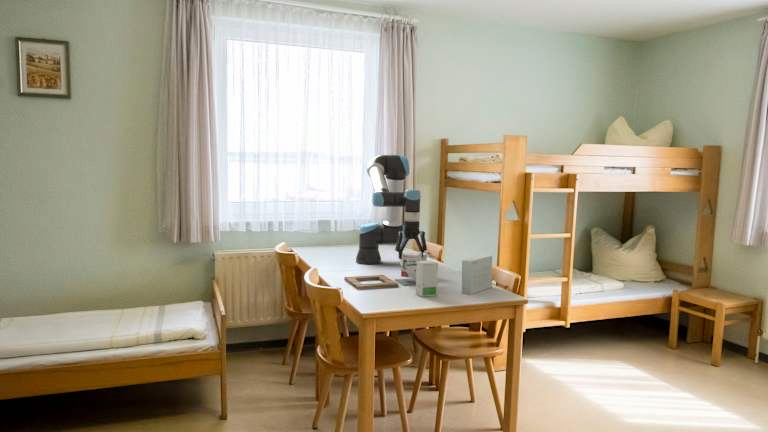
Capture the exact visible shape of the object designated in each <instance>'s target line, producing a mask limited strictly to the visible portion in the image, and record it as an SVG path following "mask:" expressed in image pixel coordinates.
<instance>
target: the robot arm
mask: <svg viewBox="0 0 768 432" xmlns="http://www.w3.org/2000/svg"><path fill="white" fill-rule="evenodd" d="M409 164H410V163H409V158H408V157H407V156H406V155H401V154H378V155H376V156H374V157H372V158H371V159H370V160H369V162H368V163H367V167H366V173H367V175H368V176H369V178H370V180H371V183H372V187H373V191H374V192H372V200H371V201H372V206H373V207H377V208H378V207H380V208H382V207H383V208H386V210H385V220H383V221H382V224H380V223H379V222H367V223H363V224H361V225H360V226H359V232H358V234H359V236H358V237H359V238H358V239H359V241H358V242H359V243H358V251H357V254H356V257H355V263H356V264H361V265H378V264H381V263H382V257H381V254H380V251H379V249H380V248H379V247H380V246H379V245H382V246H385V245H386V246H387V245H388V246H395V248H394V251H396V252H398V260H399V265H400V266H403V262H404V253H405V252H404V250H405V248H406V246H407V243H408V242H409V241H410V240H414V241H415V243H416V245H417V248H418V251H417V252H418V254H420V261H422V258H423V253H425V252H426V251H427V250H428V247H427V242H426V238H425V235H426V231H424V230H420V219H421V218H420V215H421V198H422V197H421V190H419V189H406V190H405V191H404V192H403V185H404V184H403V182H404V181H406V177H408V176H409V175H410V165H409ZM402 208H404V223H403V222H402V221H401V213H402V212H401V211H402ZM419 236H420V238H419ZM420 241H421V242H420Z"/></svg>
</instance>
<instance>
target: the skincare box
mask: <svg viewBox="0 0 768 432" xmlns="http://www.w3.org/2000/svg"><path fill="white" fill-rule="evenodd" d="M438 267H439V262H437V261H433V260H427V261H417V270H416V285H415V295H417V296H419V297H421V298H422V297H423V298H425V297H437V293H438V273H439V269H438Z"/></svg>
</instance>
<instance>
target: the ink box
mask: <svg viewBox="0 0 768 432" xmlns="http://www.w3.org/2000/svg"><path fill="white" fill-rule="evenodd" d="M403 253H404V262H403V266H401V265H400V266H401V267H400V268H401V269H400V270H401V271H400V273H401V274H400V277H402V278H416V270H417V261H420V254H418V253H414V252H409V251H408V252H407V251H406V252H403Z"/></svg>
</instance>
